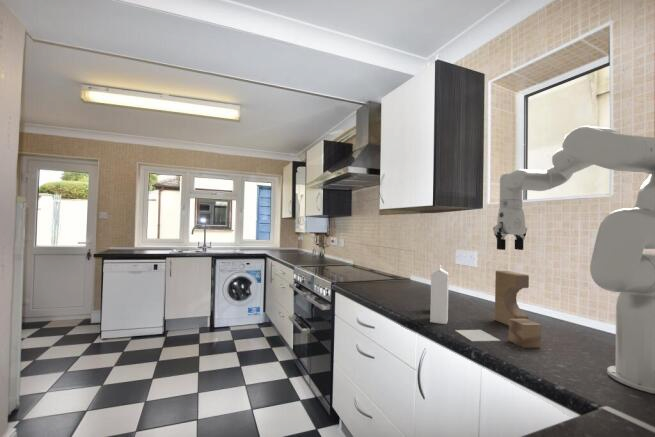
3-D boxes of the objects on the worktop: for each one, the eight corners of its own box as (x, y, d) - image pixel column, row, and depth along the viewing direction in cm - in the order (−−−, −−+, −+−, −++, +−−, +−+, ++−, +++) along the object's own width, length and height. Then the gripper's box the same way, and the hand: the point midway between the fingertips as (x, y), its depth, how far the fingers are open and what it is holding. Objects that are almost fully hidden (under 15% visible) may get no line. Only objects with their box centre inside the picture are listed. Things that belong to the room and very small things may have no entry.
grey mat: (500, 341, 97) (500, 340, 97) (472, 342, 96) (472, 341, 96) (480, 330, 107) (480, 329, 107) (454, 331, 106) (454, 330, 106)
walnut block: (540, 347, 92) (540, 324, 93) (523, 347, 92) (523, 324, 92) (525, 339, 98) (525, 318, 99) (508, 340, 98) (509, 318, 98)
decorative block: (529, 329, 110) (529, 275, 111) (515, 329, 109) (516, 275, 110) (506, 319, 121) (507, 270, 122) (494, 320, 120) (494, 270, 121)
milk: (430, 322, 115) (430, 265, 116) (432, 318, 121) (432, 263, 121) (446, 324, 112) (447, 266, 113) (448, 320, 118) (448, 264, 119)
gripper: (503, 203, 109) (502, 250, 108) (535, 206, 115) (535, 250, 114) (485, 204, 116) (485, 248, 115) (517, 207, 122) (516, 248, 121)
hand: (510, 249), depth 115 cm, fingers open, 9 cm apart
